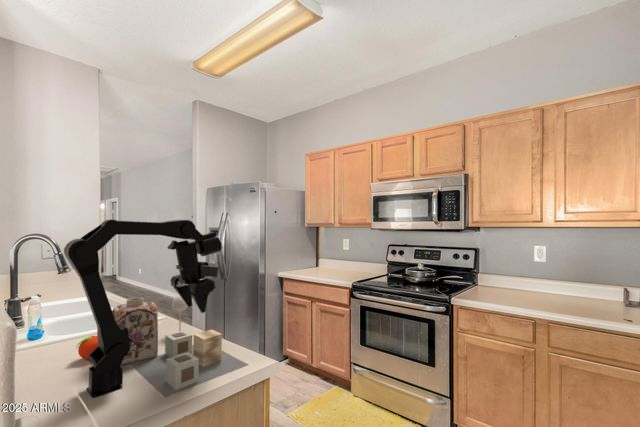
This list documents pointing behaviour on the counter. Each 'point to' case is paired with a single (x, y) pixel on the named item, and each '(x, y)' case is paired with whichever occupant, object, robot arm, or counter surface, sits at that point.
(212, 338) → the plain maple block
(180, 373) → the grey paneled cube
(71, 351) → the counter surface
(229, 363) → the slate rubber mat
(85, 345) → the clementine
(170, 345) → the brown paneled pale cube
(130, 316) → the decorative jar
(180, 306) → the lollipop
